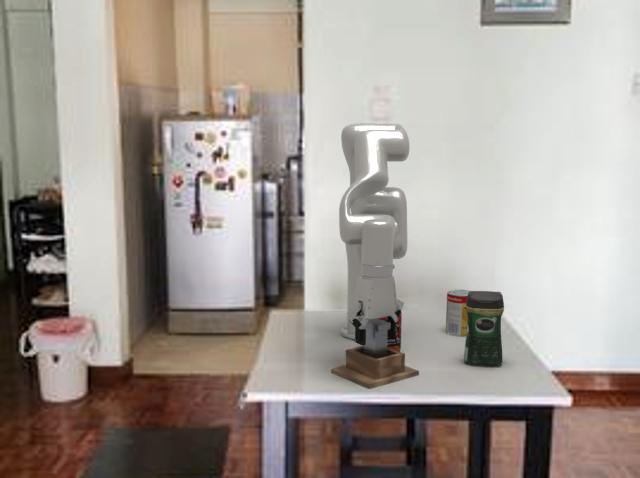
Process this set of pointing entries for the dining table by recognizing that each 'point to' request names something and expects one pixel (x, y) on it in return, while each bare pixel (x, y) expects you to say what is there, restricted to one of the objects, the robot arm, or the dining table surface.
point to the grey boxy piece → (376, 338)
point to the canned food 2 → (456, 312)
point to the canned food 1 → (396, 342)
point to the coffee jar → (484, 328)
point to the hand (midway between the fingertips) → (375, 340)
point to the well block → (374, 368)
